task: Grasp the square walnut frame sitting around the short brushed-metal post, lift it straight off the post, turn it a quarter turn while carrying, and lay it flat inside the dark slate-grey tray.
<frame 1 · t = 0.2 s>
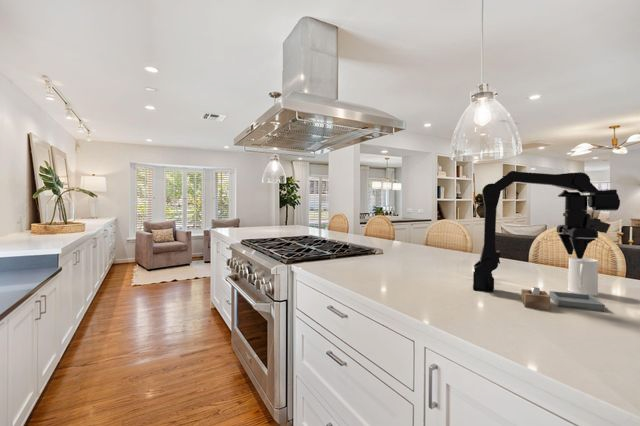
hand: (574, 256, 103), 14 cm above the worktop, fingers open, 9 cm apart
tray: (574, 303, 99), on the worktop
mug: (581, 293, 110), on the worktop
post: (535, 305, 97), on the worktop
ring: (535, 305, 97), on the worktop
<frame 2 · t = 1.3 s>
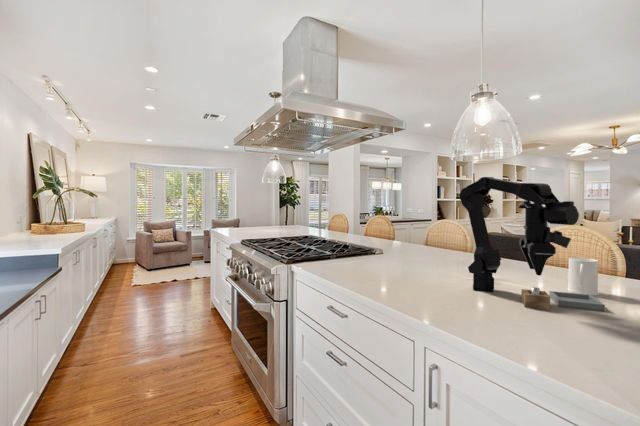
hand: (535, 272, 97), 11 cm above the worktop, fingers open, 9 cm apart
nothing on the worktop moved.
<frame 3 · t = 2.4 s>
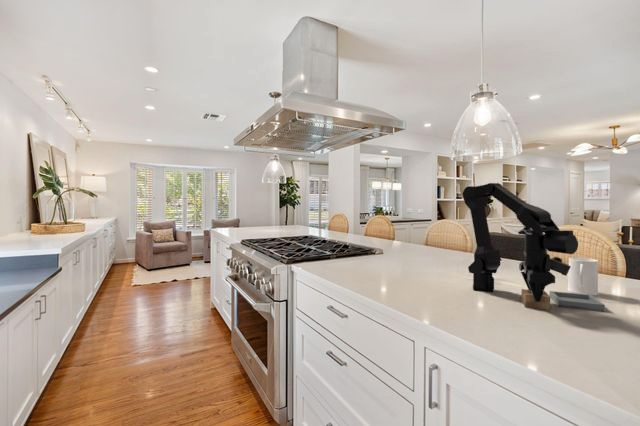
hand: (535, 298, 97), 2 cm above the worktop, fingers closed on ring, 6 cm apart
ring: (535, 305, 97), on the worktop, touching gripper
everything else where it was.
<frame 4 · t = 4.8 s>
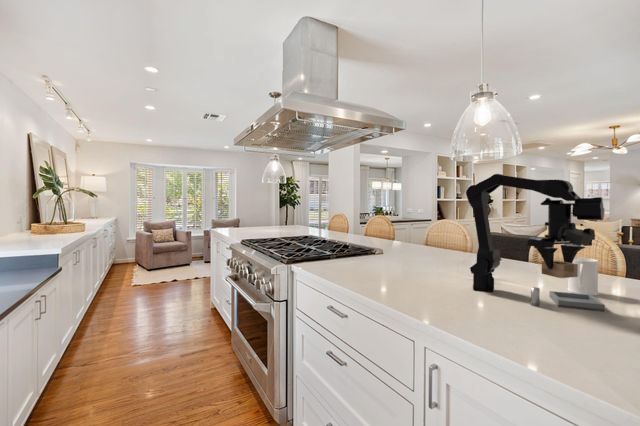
hand: (559, 268, 97), 12 cm above the worktop, fingers closed on ring, 6 cm apart
ring: (559, 275, 97), point 9 cm above the worktop, touching gripper
everything else where it was.
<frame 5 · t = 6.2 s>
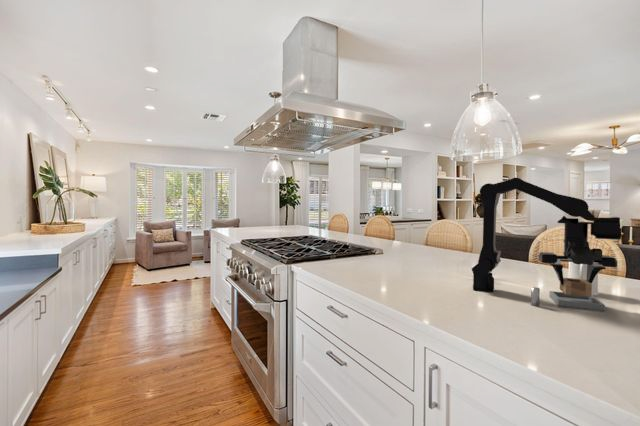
hand: (574, 285, 98), 6 cm above the worktop, fingers closed on ring, 6 cm apart
ring: (574, 292, 98), point 3 cm above the worktop, touching gripper
everything else where it was.
when the fingers open (3 cm above the worktop, at t = 7.2 s): ring stays where it is, resting on tray.
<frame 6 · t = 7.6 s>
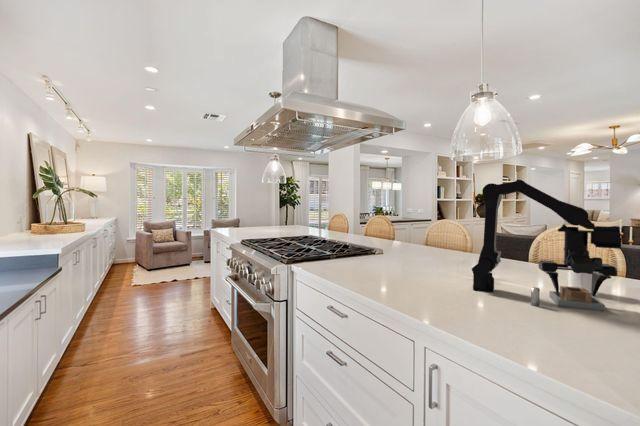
hand: (575, 294, 98), 3 cm above the worktop, fingers open, 9 cm apart
ring: (574, 301, 98), point 1 cm above the worktop, touching tray
everything else where it was.
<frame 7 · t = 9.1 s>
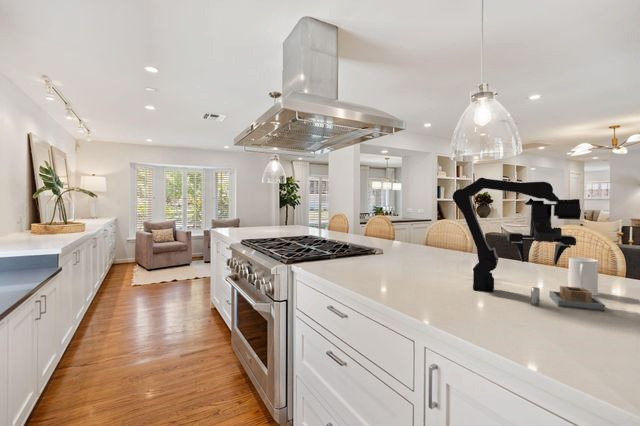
hand: (538, 263, 106), 12 cm above the worktop, fingers open, 9 cm apart
nothing on the worktop moved.
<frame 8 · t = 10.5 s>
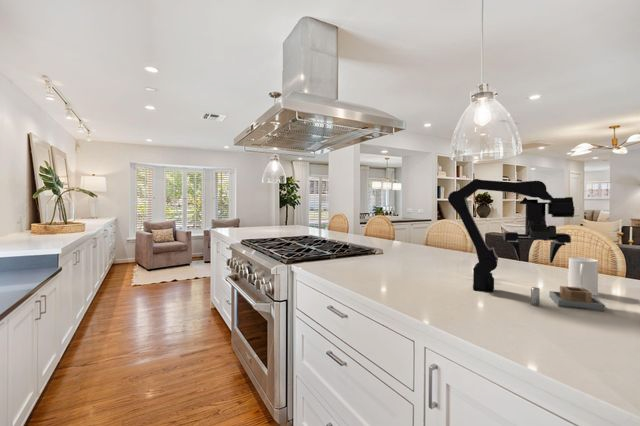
hand: (534, 261, 107), 12 cm above the worktop, fingers open, 9 cm apart
nothing on the worktop moved.
at the end: ring inside the target area on the tray (0.1 cm from its centre), point 0.6 cm above the tray's base; ring tilted 0°; the gripper is holding nothing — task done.
